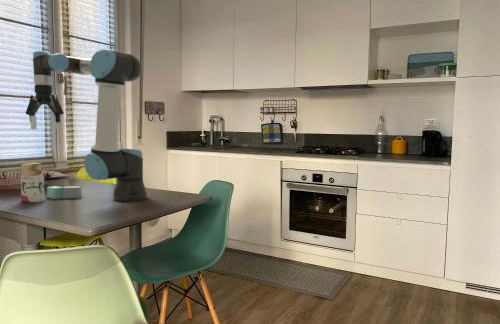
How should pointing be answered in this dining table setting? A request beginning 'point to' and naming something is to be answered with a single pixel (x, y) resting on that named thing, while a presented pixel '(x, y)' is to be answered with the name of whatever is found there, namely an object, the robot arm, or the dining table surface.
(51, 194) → the brick teal
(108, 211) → the dining table surface
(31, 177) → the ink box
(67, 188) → the brick grey
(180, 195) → the dining table surface
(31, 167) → the brick oak
